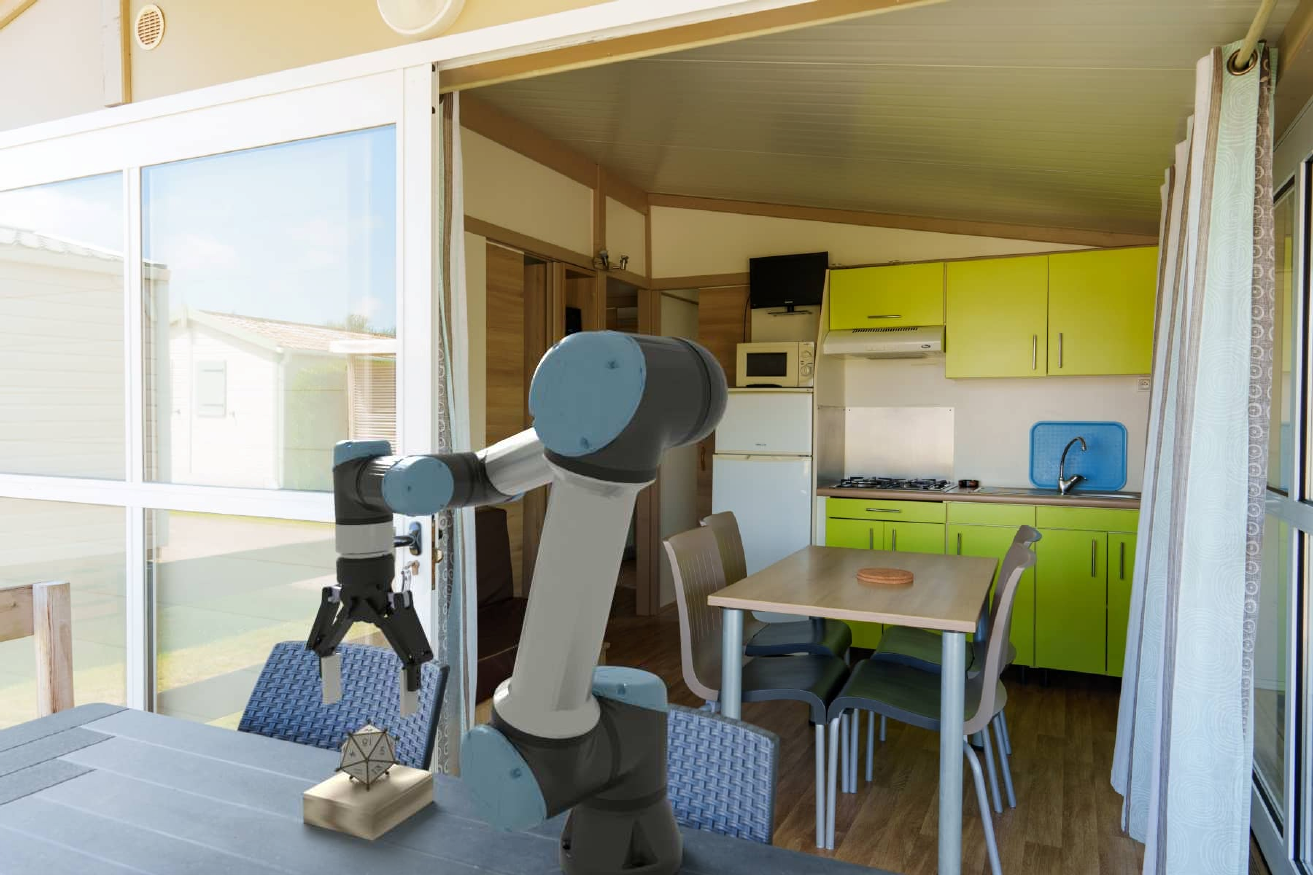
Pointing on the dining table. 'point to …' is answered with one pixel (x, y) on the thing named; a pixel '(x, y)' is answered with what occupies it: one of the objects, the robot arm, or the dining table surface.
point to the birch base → (368, 801)
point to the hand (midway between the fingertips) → (369, 708)
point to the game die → (368, 754)
